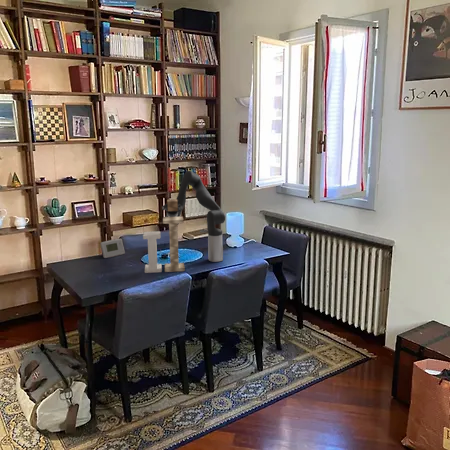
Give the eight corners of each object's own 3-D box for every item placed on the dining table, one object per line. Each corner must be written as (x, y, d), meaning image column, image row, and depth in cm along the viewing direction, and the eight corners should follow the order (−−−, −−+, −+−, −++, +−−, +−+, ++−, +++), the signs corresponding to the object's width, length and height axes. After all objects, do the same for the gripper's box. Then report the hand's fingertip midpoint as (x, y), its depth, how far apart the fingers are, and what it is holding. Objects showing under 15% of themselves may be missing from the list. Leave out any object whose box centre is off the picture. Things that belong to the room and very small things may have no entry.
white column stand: (161, 266, 290) (160, 231, 285) (161, 272, 280) (160, 235, 275) (145, 267, 289) (143, 231, 284) (144, 272, 279) (143, 235, 274)
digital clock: (103, 259, 307) (102, 243, 305) (99, 255, 315) (98, 240, 312) (126, 255, 315) (125, 240, 313) (122, 252, 323) (121, 237, 320)
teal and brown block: (176, 204, 301) (176, 195, 300) (177, 210, 282) (177, 201, 281) (167, 205, 301) (167, 196, 299) (167, 211, 281) (167, 201, 280)
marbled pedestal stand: (184, 266, 292) (182, 216, 284) (184, 271, 282) (183, 219, 275) (164, 266, 290) (163, 217, 283) (164, 271, 281) (163, 220, 273)
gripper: (161, 206, 309) (161, 197, 292) (182, 206, 310) (183, 197, 294) (162, 217, 307) (161, 209, 290) (183, 216, 308) (183, 208, 292)
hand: (172, 203), depth 292 cm, fingers closed on teal and brown block, 2 cm apart
